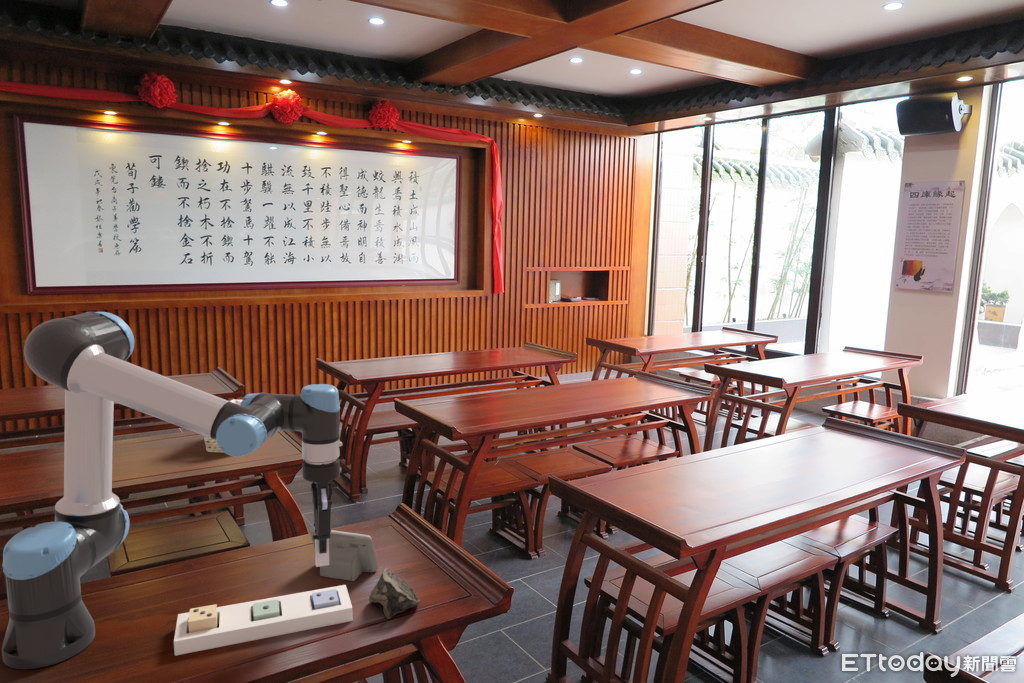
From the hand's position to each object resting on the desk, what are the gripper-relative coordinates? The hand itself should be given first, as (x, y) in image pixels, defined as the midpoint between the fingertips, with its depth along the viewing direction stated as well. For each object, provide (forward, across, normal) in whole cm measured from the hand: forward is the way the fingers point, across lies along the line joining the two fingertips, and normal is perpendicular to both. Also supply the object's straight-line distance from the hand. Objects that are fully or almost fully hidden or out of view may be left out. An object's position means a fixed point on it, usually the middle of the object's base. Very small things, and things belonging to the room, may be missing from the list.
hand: (322, 564), depth 143 cm
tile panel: (+12, 0, +11) cm, 16 cm away
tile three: (+10, 0, +23) cm, 26 cm away
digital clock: (+12, +17, -7) cm, 22 cm away
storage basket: (+13, +128, +17) cm, 130 cm away
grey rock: (+11, -3, -16) cm, 20 cm away
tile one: (+11, 0, +11) cm, 16 cm away
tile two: (+11, 0, -1) cm, 11 cm away
